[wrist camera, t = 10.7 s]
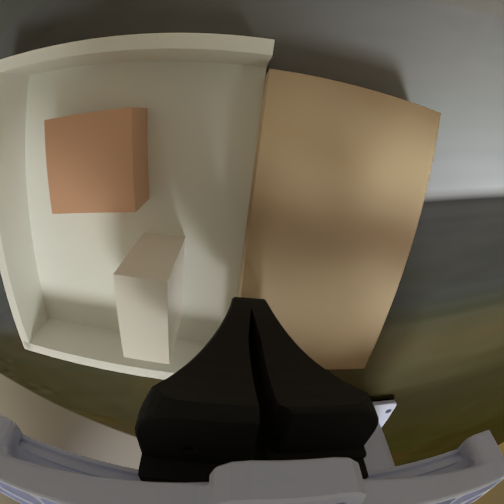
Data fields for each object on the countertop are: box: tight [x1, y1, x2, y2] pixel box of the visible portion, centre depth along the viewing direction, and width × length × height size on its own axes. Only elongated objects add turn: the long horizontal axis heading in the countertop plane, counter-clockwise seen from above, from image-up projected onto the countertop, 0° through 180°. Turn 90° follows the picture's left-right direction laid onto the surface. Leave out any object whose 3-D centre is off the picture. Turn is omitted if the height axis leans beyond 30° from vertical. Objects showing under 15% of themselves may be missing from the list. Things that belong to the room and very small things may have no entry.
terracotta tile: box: [44, 107, 149, 214], centre depth 11 cm, size 4×4×2 cm
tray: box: [0, 33, 275, 380], centre depth 12 cm, size 15×12×3 cm
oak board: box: [238, 69, 441, 369], centre depth 13 cm, size 13×7×2 cm, turn 173°
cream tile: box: [113, 233, 186, 364], centre depth 13 cm, size 4×4×2 cm
